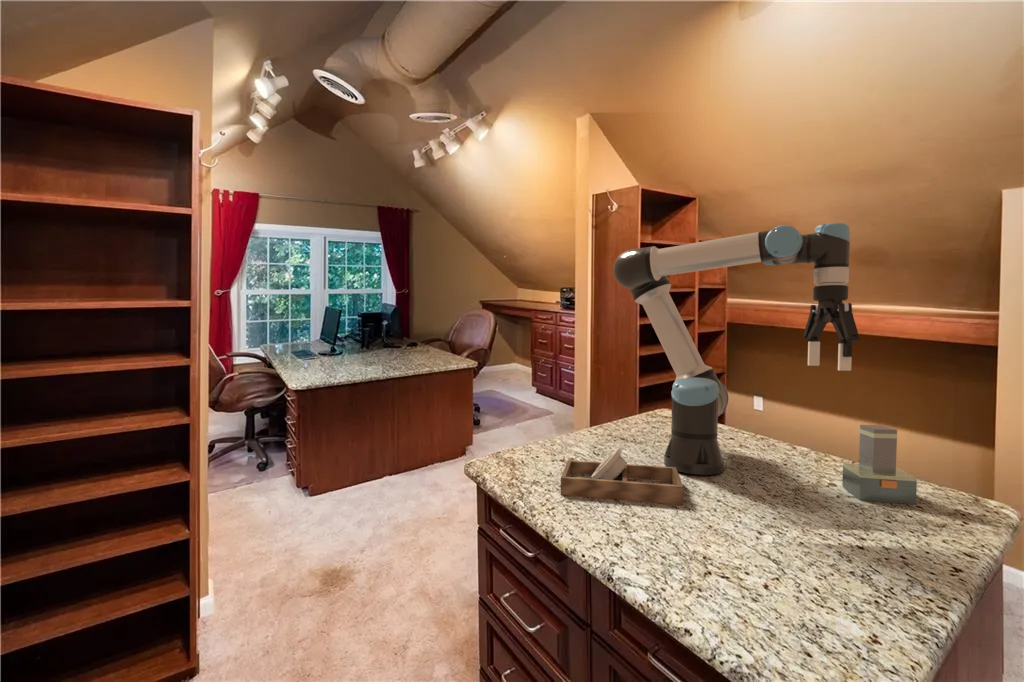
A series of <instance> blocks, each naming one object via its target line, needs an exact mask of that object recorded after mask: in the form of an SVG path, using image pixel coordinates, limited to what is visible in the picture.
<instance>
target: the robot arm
mask: <svg viewBox="0 0 1024 682" xmlns="http://www.w3.org/2000/svg"><path fill="white" fill-rule="evenodd" d="M850 247H851V232H850V225H848V224H847V223H844V222H830V223H822V224H819V225H817V226H815V228H814V232H813V233H808V234H801V232H800V231H799V230H798V229H797V228H795V227H794V226H792V225H788V224H782V225H781V224H780V225H777V226H775V227H773V228H772V229H769V230H762V231H759V232H758V231H757V232H751V233H750V232H749V233H744V234H740V235H734V236H729V237H722V238H715V239H711V240H710V239H709V240H704V241H698V242H692V243H686V244H682V245H674V246H669V247H664V248H663V247H662V248H658V247H656V246H655V245H653V246H648V247H641V248H640V247H639V248H631V249H628V250H627V249H626V251H622V252H621V254H619V255H618V256H617V258H616V259H615V261H614V263H613V268H612V269H613V276H614V279H615V281H617V283H618V284H619V285H620V286H621V287H624V288H626V289H629V292H630V294H631V296H632V298H633V300H634V302H635V303H636V304H638V305H642V307H643V309H644V312H645V313H646V315H647V318H648V320H649V321H650V324H651V326H652V328H653V329H654V332H655V334H656V336H657V338H658V340H659V342H660V344H661V346H662V348H663V351H664V353H665V355H666V356H667V359H668V361H669V363H670V366H671V367H672V369H673V372H674V373H675V377H676V378H675V380H674V382H673V384H672V386H671V387H672V388H671V389H672V390H671V392H670V393H671V421H670V422H671V425H670V426H671V427H670V428H671V429H670V431H671V434H670V437H669V438H670V439H669V442H668V444H667V447H666V450H665V452H664V456H663V464H664V465H663V466H664V467H676V469H677V472H678V473H679V472H681V473H684V474H690V475H691V474H692V475H701V476H702V475H716V474H717V475H718V474H721V473H722V472H724V470H725V462H724V461H725V459H724V457H723V454H722V451H721V448H720V445H719V441H718V429H719V427H718V425H719V423H718V422H719V421H718V419H719V417H720V416H721V415H722V414H724V412H725V411H726V410H727V407H728V404H729V393H728V392H729V391H728V390H727V388H726V386H725V385H724V384H723V383H722V382H721V381H720V380H719V379H718V376H717V374H716V372H715V370H714V369H713V367H712V366H709V365H707V364H705V363H704V360H703V359H702V356H701V355H700V352H699V351H698V349H697V346H696V344H695V343H694V340H693V338H692V336H691V335H690V332H689V330H688V328H687V326H686V325H685V323H684V319H682V316H681V314H680V312H679V310H678V308H677V306H676V304H675V302H674V301H673V298H672V296H671V294H670V290H671V287H672V284H671V283H670V280H669V278H668V276H672V275H675V276H676V275H680V274H686V273H695V272H699V271H700V272H702V271H709V270H714V269H723V268H728V267H735V266H742V265H749V264H756V263H763V264H764V265H766V266H777V267H778V266H780V265H796V264H813V266H814V267H813V270H814V271H813V273H812V275H813V284H814V285H816V286H814V287H813V289H812V290H813V293H812V299H813V301H816V302H818V303H817V304H811V305H810V309H809V310H810V311H809V315H808V318H807V322H806V326H805V328H804V329H805V330H804V332H803V335H802V337H803V339H806V341H807V342H808V343H807V367H808V366H816V367H819V366H820V363H821V360H820V359H821V358H820V357H821V356H820V355H821V339H820V337H821V335H822V334H823V332H824V330H825V328H826V326H827V324H829V323H831V324H832V325H833V328H834V330H835V332H836V334H837V336H838V339H839V341H838V342H837V343H838V347H837V348H838V351H837V371H843V372H844V371H847V372H848V371H849V372H851V371H852V360H853V359H852V356H853V344H855V343H856V342H859V341H860V334H859V332H858V328H857V324H856V322H855V318H854V313H853V307H852V306H853V305H852V303H851V302H844V301H847V300H848V299H849V286H848V285H847V284H849V282H850V252H851V249H850Z"/></svg>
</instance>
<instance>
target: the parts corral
mask: <svg viewBox="0 0 1024 682" xmlns="http://www.w3.org/2000/svg"><path fill="white" fill-rule="evenodd" d="M602 462H603V461H587V460H574V459H573V460H572V459H567V462H566V464H565V466H564V468H563V471H562V473H561V477H560V495H561V496H573V497H581V498H583V497H584V498H596V499H605V500H606V499H609V500H617V501H618V500H621V501H631V502H643V503H654V504H656V503H657V504H667V505H678V506H679V505H681V506H684V484H683V482H682V480H681V478H680V475H679V471H677V469H676V467H666V466H664V465H663V466H662V465H649V464H648V465H645V464H634V463H633V464H631V463H630V464H629V463H627V464H626V466H625V468H624V469H623V470H622V472H621V473H620V474H619V475H618V476H617V477H616V478H621V480H617V479H614V480H603V479H599V478H598V479H593V478H587V477H573V476H572V477H571V475H570V474H580V475H591V476H592V475H593V473H594V472H595V471H596V469H597V467H598V466H599V465H600V464H601V463H602ZM628 479H634V480H643V481H645V480H646V481H652V482H642V481H641V482H640V481H639V482H638V481H628ZM653 481H654V482H653ZM655 481H657V482H664V483H655ZM665 482H666V483H671V484H666V483H665Z"/></svg>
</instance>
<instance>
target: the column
mask: <svg viewBox="0 0 1024 682" xmlns="http://www.w3.org/2000/svg"><path fill="white" fill-rule="evenodd" d="M897 446H898V429H895V428H893V427H889V426H887V425H883V424H860V425H859V452H858V453H859V454H858V464H859V466H860V467H862V468H864V469H866V470H868V471H871V472H875V473H896V467H897V450H898V449H897Z"/></svg>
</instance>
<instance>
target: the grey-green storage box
mask: <svg viewBox="0 0 1024 682" xmlns="http://www.w3.org/2000/svg"><path fill="white" fill-rule="evenodd" d="M842 486H843V487H844V488H845V489H846V490H845V489H844V488H843V487H842V488H843V489H844V490H845V491H847V493H850V494H851V495H853V496H854V497H855V498H856V499H858V501H866V502H876V503H878V502H879V503H893V504H906V505H917V489H918V487H917V486H918V477H916V476H914V475H913V474H911V473H909V472H907V471H905V470H903V469H901V468H899V467H897V466H896V473H875V472H871V471H868V470H866V469H864V468H862V467H860V466H859V463H850V462H849V463H847V462H843V463H842Z"/></svg>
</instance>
